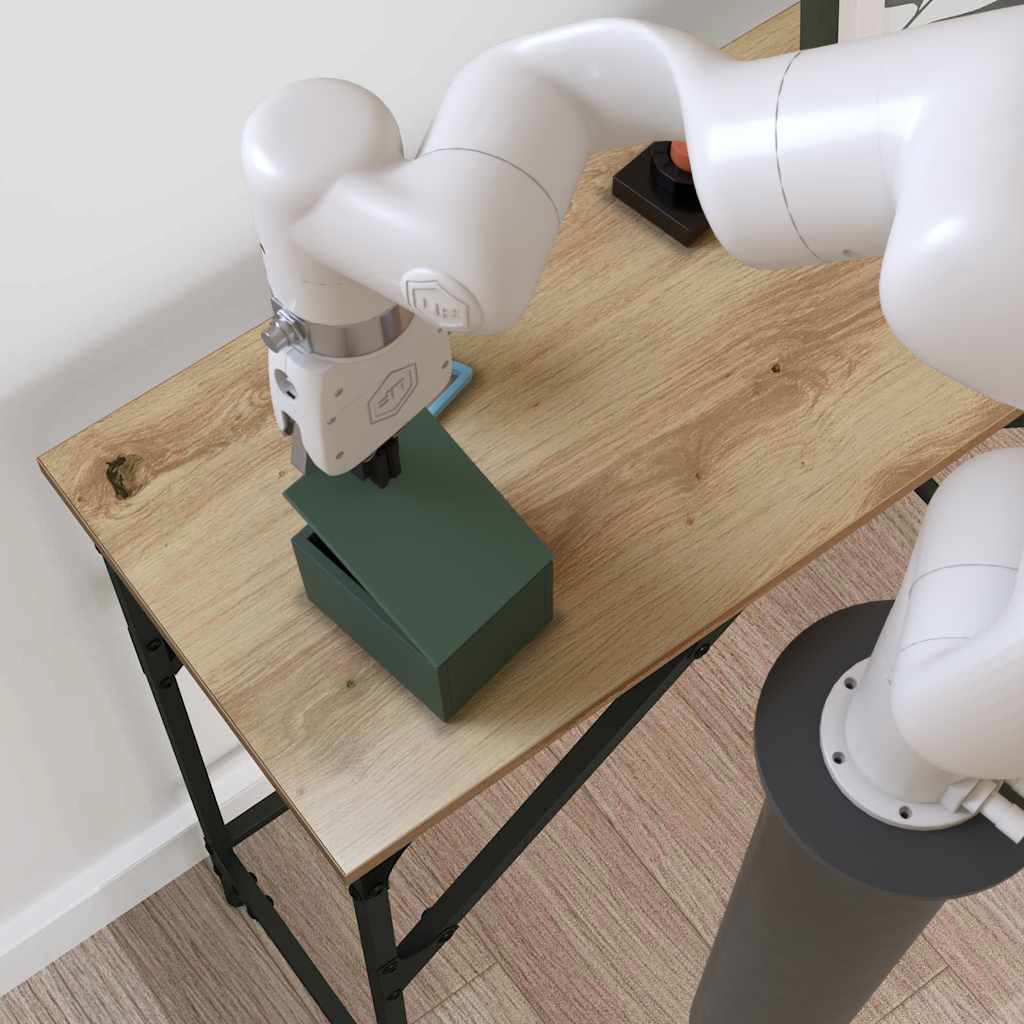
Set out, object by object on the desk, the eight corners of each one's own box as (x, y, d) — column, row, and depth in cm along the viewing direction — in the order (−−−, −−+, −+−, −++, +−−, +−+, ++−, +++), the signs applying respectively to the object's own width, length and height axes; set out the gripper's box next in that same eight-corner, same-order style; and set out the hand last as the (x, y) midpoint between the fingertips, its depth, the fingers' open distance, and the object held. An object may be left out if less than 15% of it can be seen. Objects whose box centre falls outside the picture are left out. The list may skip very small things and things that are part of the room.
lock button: (725, 154, 127) (728, 138, 125) (696, 180, 126) (697, 164, 124) (690, 130, 128) (692, 115, 127) (660, 155, 127) (662, 140, 125)
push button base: (768, 176, 130) (774, 142, 127) (686, 248, 127) (690, 215, 123) (692, 125, 133) (696, 90, 130) (611, 194, 130) (613, 160, 126)
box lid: (281, 494, 99) (283, 491, 98) (404, 388, 103) (407, 385, 102) (435, 668, 100) (438, 667, 100) (551, 558, 104) (556, 556, 103)
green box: (307, 598, 113) (289, 539, 105) (415, 501, 116) (406, 437, 109) (445, 723, 108) (437, 671, 100) (553, 619, 112) (553, 560, 104)
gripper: (287, 419, 80) (328, 584, 96) (496, 244, 85) (502, 428, 101) (187, 334, 82) (243, 508, 98) (397, 168, 88) (417, 360, 104)
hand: (374, 467), depth 100 cm, fingers closed
